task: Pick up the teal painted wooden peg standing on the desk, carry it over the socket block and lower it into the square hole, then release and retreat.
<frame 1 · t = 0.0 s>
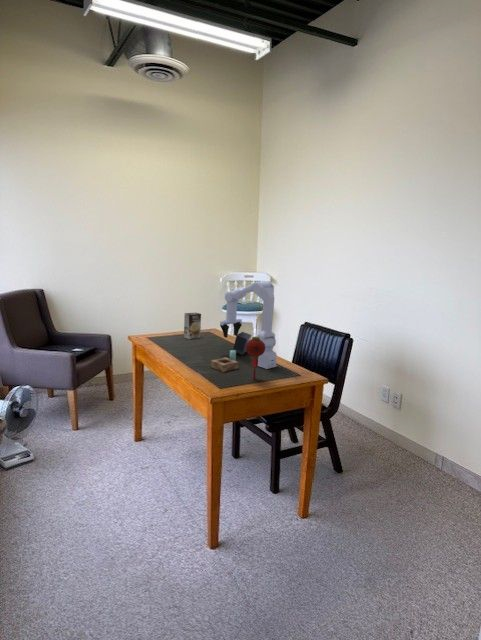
hand: (230, 336, 241), 10 cm above the table, fingers open, 7 cm apart
socket block: (224, 367, 216), on the table
small box: (240, 351, 246), on the table
coffee box: (192, 337, 277), on the table
peg: (232, 363, 224), on the table
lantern: (254, 378, 202), on the table
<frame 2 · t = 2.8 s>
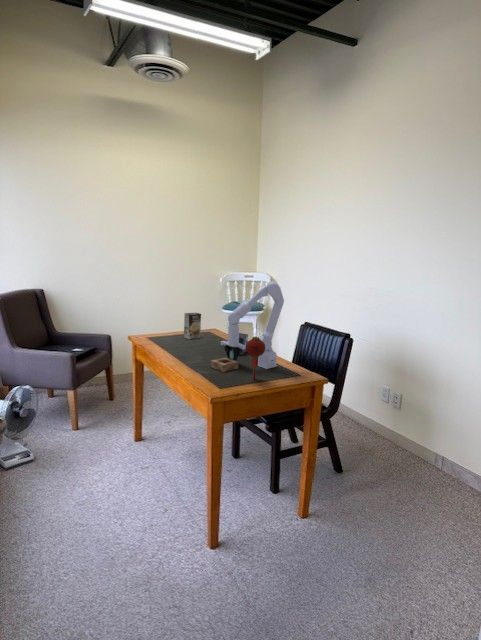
hand: (232, 360, 223), 2 cm above the table, fingers closed on peg, 3 cm apart
peg: (232, 363, 224), on the table, touching gripper
when the fingers open (4 cm above the table, at t = 5.4 s): peg drops 2 cm, resting in socket block.
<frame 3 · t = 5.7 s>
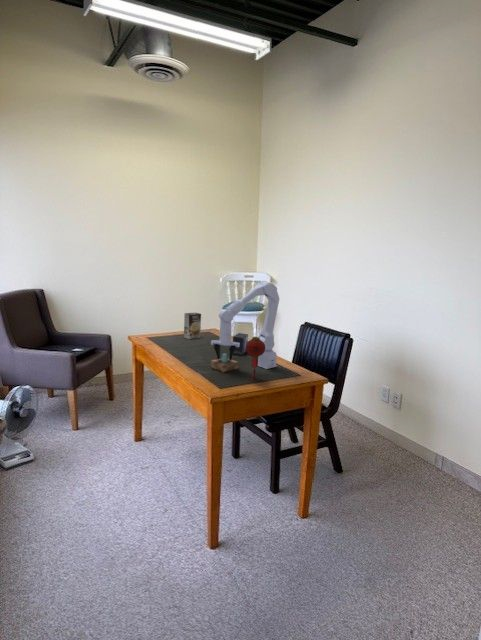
hand: (224, 359, 216), 4 cm above the table, fingers open, 6 cm apart
peg: (224, 367, 216), resting in socket block
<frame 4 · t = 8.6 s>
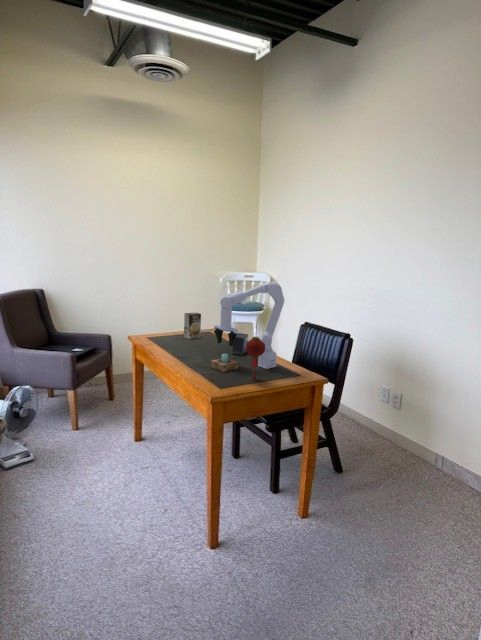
hand: (225, 344, 224), 10 cm above the table, fingers open, 7 cm apart
at the end: peg 0.0 cm off-centre on the socket block, point 0.0 cm above the socket block's base; peg tilted 0°; the gripper is holding nothing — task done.
